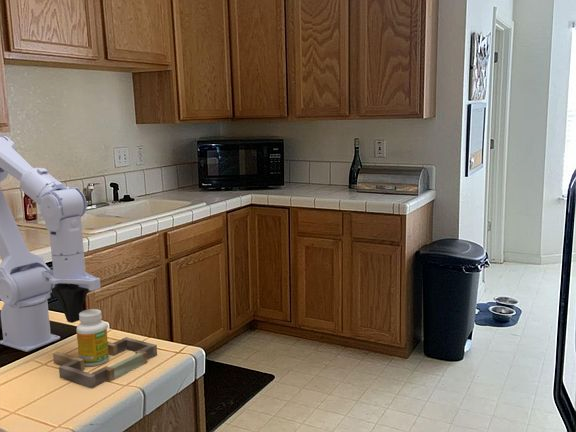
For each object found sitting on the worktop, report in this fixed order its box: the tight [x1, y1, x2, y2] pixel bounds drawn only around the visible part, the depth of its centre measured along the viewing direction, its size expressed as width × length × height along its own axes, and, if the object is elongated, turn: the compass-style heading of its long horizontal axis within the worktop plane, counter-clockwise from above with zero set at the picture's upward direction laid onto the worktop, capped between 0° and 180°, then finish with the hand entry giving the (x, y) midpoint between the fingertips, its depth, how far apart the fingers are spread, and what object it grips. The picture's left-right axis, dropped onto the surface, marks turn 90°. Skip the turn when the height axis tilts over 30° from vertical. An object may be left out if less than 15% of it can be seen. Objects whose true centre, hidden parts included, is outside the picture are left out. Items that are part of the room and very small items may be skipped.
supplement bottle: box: [76, 308, 110, 367], centre depth 106 cm, size 5×5×10 cm
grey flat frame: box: [52, 336, 158, 389], centre depth 105 cm, size 16×16×2 cm
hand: (74, 320), depth 108 cm, fingers closed
